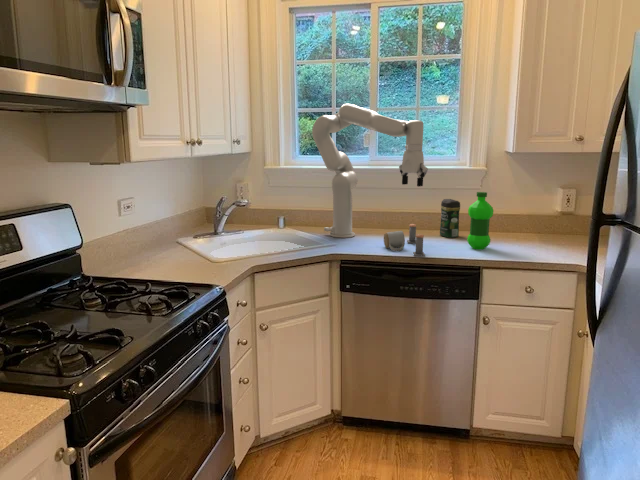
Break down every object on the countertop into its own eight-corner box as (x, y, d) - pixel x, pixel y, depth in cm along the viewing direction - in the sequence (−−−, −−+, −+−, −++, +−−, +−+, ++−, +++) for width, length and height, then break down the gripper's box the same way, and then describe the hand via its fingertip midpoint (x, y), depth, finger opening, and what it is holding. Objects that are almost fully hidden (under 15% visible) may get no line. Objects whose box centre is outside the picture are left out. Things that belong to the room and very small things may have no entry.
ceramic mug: (382, 246, 226) (383, 229, 224) (400, 245, 227) (400, 229, 225) (389, 252, 215) (389, 234, 214) (407, 251, 217) (408, 234, 215)
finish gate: (414, 256, 207) (415, 236, 206) (406, 241, 235) (407, 223, 233) (424, 256, 207) (425, 236, 205) (416, 241, 235) (417, 223, 233)
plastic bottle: (461, 246, 225) (465, 191, 219) (482, 245, 227) (486, 190, 222) (473, 251, 215) (477, 194, 210) (495, 250, 218) (499, 193, 213)
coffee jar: (437, 234, 251) (438, 198, 247) (451, 234, 253) (453, 197, 249) (446, 238, 242) (448, 200, 238) (461, 237, 244) (463, 200, 240)
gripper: (394, 147, 233) (393, 184, 236) (422, 148, 219) (420, 187, 223) (406, 147, 237) (404, 183, 241) (433, 148, 223) (431, 186, 227)
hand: (412, 185), depth 232 cm, fingers open, 9 cm apart
